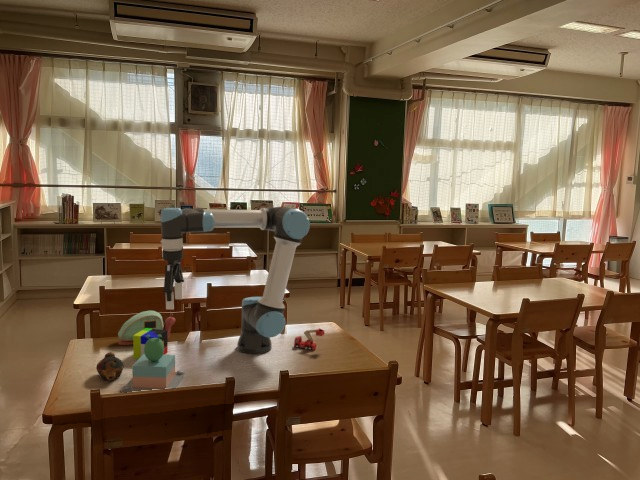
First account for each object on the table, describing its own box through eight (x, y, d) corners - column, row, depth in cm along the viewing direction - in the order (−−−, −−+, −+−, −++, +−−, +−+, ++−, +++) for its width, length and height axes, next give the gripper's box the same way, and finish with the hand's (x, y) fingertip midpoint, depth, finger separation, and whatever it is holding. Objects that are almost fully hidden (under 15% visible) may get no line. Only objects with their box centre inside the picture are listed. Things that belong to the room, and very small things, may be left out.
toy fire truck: (296, 344, 242) (296, 324, 240) (324, 349, 237) (324, 329, 235) (293, 347, 239) (293, 326, 237) (321, 352, 234) (322, 331, 232)
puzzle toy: (155, 361, 217) (155, 337, 215) (133, 358, 219) (133, 335, 217) (167, 352, 227) (167, 330, 225) (146, 350, 229) (145, 328, 227)
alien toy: (164, 355, 199) (164, 330, 198) (164, 363, 192) (163, 337, 190) (144, 356, 198) (144, 331, 196) (143, 364, 190) (143, 338, 189)
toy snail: (118, 347, 231) (118, 316, 229) (117, 341, 238) (116, 311, 236) (177, 340, 242) (176, 311, 240) (173, 335, 249) (173, 306, 247)
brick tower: (185, 374, 205) (185, 352, 204) (172, 394, 187) (172, 370, 186) (138, 372, 205) (138, 350, 204) (121, 392, 187) (120, 368, 186)
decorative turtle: (120, 367, 209) (121, 348, 207) (126, 385, 196) (127, 364, 194) (93, 370, 204) (94, 350, 203) (97, 388, 191) (98, 367, 190)
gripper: (170, 243, 211) (172, 295, 214) (153, 255, 186) (155, 313, 190) (189, 243, 211) (191, 295, 215) (174, 255, 187) (176, 313, 190)
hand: (174, 304), depth 202 cm, fingers open, 13 cm apart
